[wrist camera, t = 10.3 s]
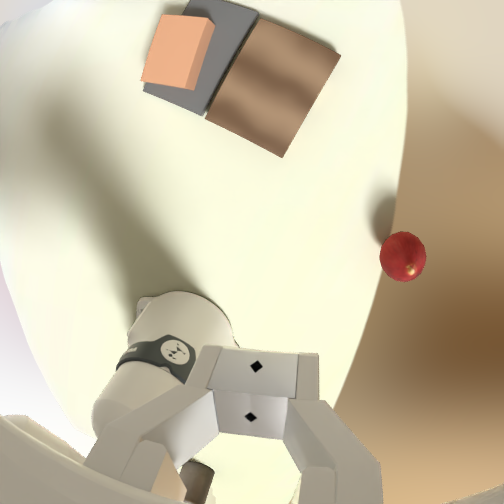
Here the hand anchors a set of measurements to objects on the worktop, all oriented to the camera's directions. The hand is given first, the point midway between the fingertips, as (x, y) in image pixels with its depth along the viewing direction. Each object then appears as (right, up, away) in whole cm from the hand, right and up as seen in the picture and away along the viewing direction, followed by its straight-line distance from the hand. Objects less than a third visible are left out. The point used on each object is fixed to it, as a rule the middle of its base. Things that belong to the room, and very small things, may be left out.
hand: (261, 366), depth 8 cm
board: (+2, +22, +23) cm, 32 cm away
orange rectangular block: (-9, +27, +22) cm, 36 cm away
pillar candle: (-16, -61, +63) cm, 89 cm away
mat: (-7, +28, +22) cm, 36 cm away
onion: (+18, +4, +28) cm, 34 cm away
